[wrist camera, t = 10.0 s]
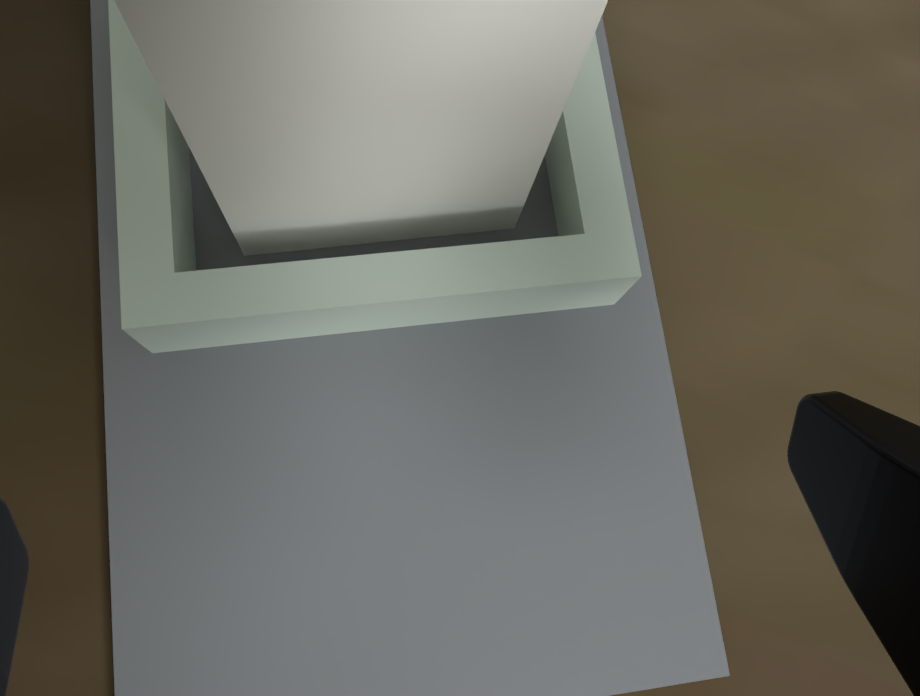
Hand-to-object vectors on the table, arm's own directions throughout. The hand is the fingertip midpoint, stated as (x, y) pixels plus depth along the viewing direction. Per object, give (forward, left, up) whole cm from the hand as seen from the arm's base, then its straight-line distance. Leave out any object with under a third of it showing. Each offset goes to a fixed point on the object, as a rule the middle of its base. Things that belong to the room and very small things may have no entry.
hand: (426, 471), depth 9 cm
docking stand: (+2, +4, -9) cm, 10 cm away
